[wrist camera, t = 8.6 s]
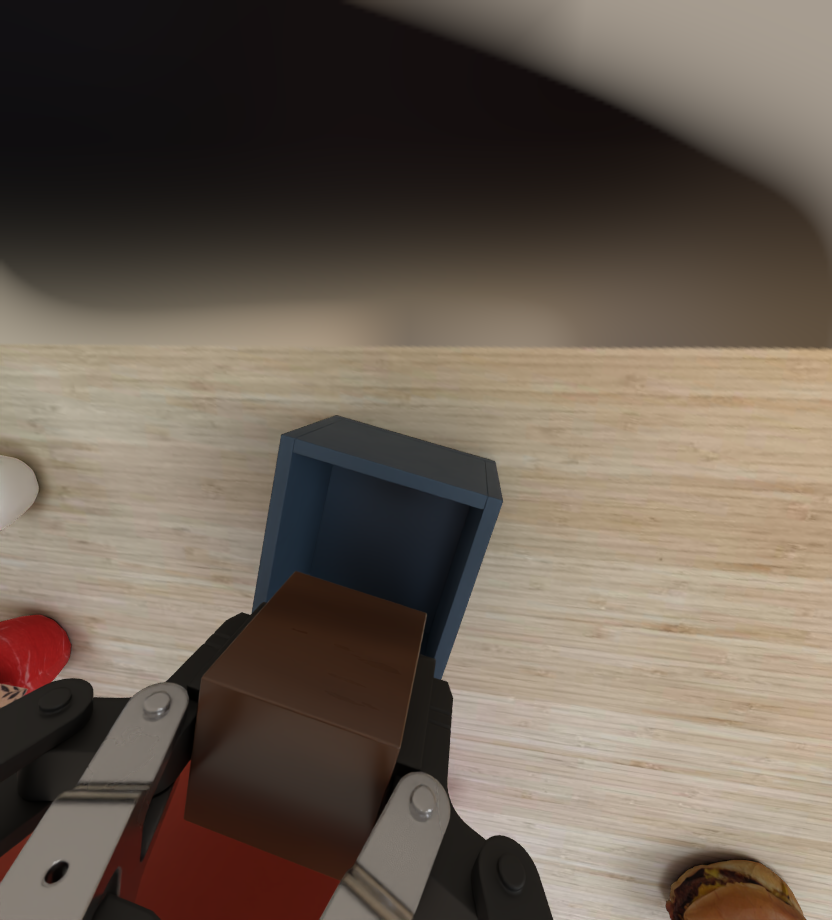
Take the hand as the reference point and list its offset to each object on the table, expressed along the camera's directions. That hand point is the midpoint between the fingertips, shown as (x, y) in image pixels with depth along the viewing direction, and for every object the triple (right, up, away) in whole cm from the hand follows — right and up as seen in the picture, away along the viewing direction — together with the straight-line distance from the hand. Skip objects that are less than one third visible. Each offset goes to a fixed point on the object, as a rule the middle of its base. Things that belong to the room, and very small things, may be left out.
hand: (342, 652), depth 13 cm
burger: (+29, -31, +21) cm, 47 cm away
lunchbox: (0, +1, +17) cm, 17 cm away
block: (0, 0, 0) cm, 0 cm away
